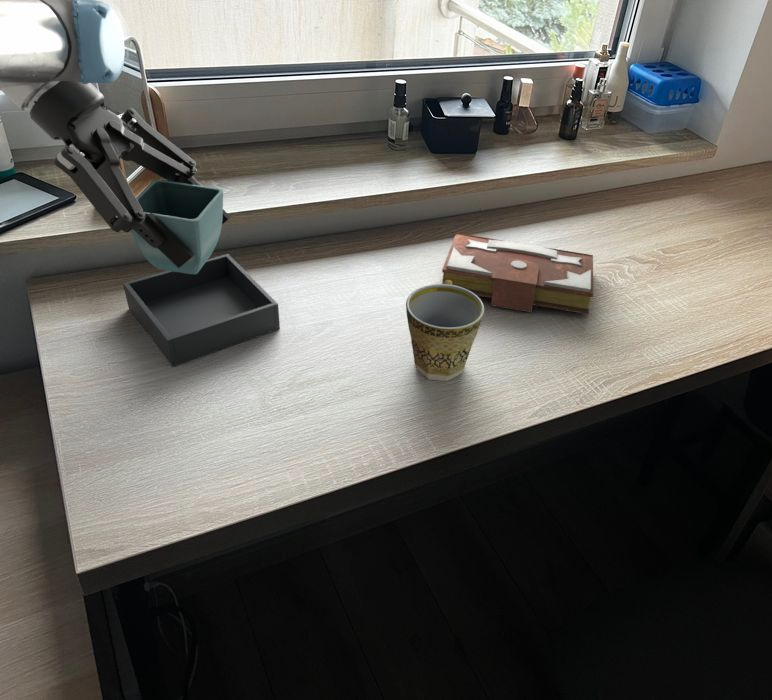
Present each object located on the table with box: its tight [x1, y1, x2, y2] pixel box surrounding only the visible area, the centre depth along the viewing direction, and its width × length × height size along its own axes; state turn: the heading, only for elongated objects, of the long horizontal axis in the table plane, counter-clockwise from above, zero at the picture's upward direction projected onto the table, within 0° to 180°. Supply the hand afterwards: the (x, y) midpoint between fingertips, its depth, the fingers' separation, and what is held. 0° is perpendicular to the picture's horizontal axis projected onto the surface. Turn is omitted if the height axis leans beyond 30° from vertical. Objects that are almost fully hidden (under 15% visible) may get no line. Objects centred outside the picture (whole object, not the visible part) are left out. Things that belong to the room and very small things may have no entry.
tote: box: [122, 253, 281, 368], centre depth 100 cm, size 15×15×4 cm
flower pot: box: [130, 179, 224, 274], centre depth 89 cm, size 9×9×9 cm
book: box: [441, 232, 594, 315], centre depth 114 cm, size 23×16×5 cm
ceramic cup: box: [405, 280, 485, 382], centre depth 96 cm, size 13×10×10 cm
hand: (205, 241), depth 89 cm, fingers closed on flower pot, 9 cm apart
